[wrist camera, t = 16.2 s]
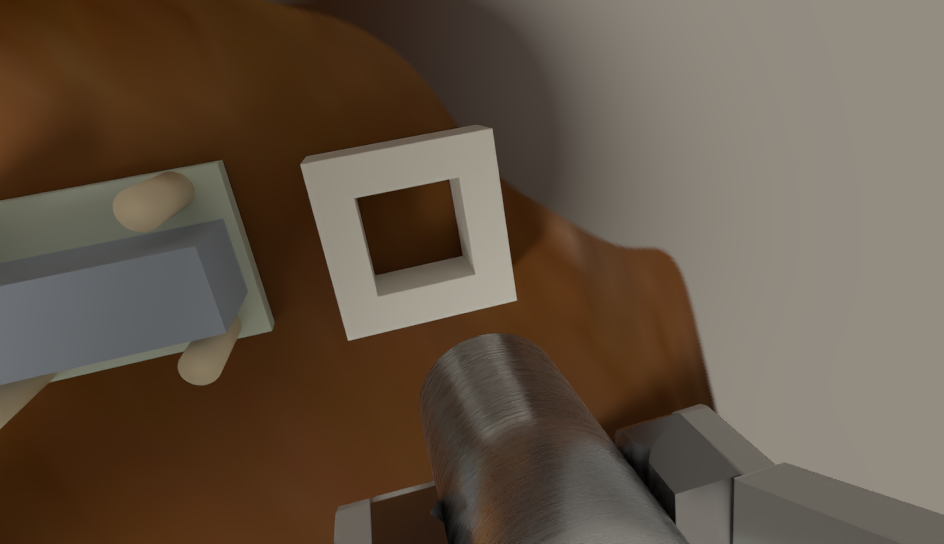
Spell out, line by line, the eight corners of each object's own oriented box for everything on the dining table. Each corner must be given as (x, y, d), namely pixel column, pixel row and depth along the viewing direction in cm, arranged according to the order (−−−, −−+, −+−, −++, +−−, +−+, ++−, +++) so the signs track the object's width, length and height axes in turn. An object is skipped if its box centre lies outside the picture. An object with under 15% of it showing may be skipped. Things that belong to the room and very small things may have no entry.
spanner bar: (-16, 349, 23) (-99, 407, 18) (-58, 274, 21) (-156, 318, 17) (248, 291, 24) (226, 333, 20) (223, 218, 23) (195, 246, 19)
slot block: (348, 315, 27) (348, 340, 24) (305, 156, 24) (300, 164, 21) (500, 279, 28) (516, 300, 25) (476, 124, 25) (492, 128, 22)
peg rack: (7, 383, 24) (-74, 452, 20) (-84, 216, 21) (-204, 249, 17) (274, 322, 26) (258, 372, 21) (222, 159, 23) (190, 176, 19)
